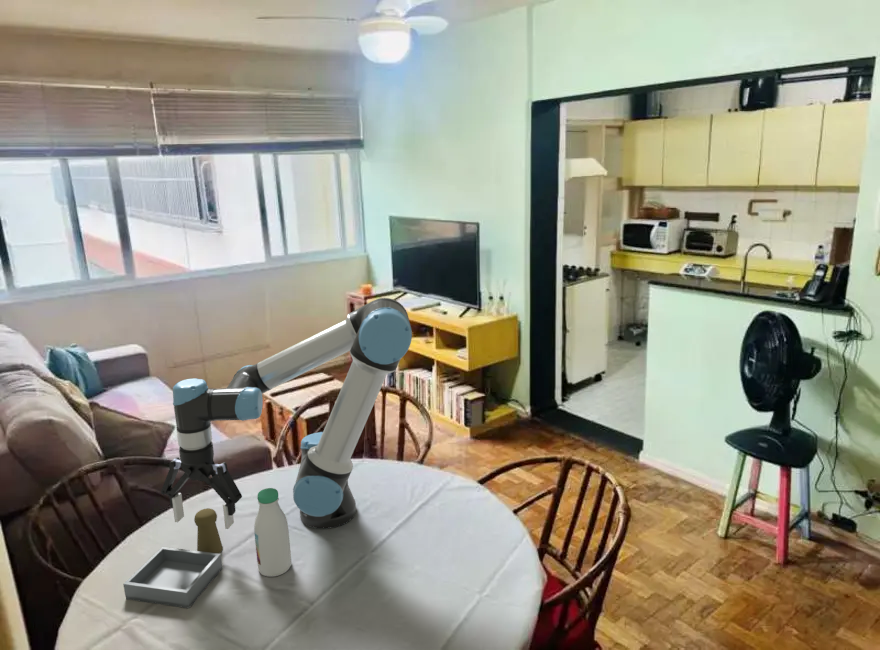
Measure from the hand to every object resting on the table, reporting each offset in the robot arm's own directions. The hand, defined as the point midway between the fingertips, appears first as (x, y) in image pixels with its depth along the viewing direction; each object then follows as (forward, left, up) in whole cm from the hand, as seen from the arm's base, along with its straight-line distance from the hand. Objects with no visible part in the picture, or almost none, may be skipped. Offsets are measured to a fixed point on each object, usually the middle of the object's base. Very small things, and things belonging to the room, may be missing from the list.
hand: (204, 522), depth 150 cm
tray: (+1, +12, -8) cm, 15 cm away
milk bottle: (-19, +3, -8) cm, 21 cm away
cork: (0, 0, -8) cm, 8 cm away
